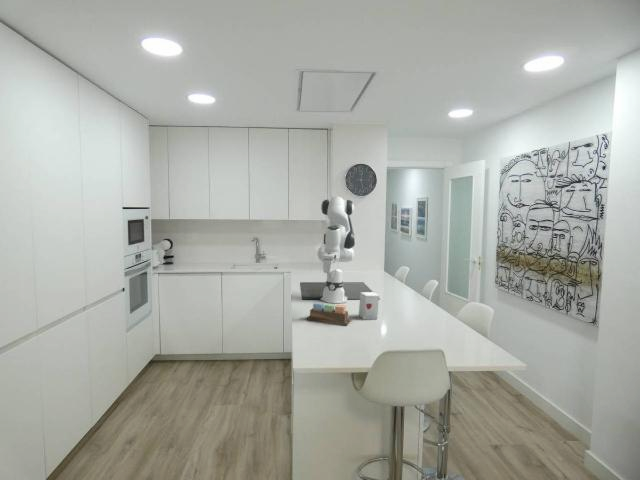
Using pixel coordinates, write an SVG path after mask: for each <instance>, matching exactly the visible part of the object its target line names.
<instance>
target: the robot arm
mask: <svg viewBox="0 0 640 480" xmlns="http://www.w3.org/2000/svg"><path fill="white" fill-rule="evenodd" d="M320 205H321V206H320V210H321V213H322V214H323V215H325V216H327V218H328V220H329V224H328V225H329V226H327V228H326V229H325V230H326V231H325V233H324V234H323V244H324V246H323V245H322V246H320V247H319V248H318V250H317V257H318V259H319V260H320V261H321V263H323V264H322V268H323V269H322V270H323V273H325V274H326V281H325V287H323V291H322V292H323V293H322V297H321V298H320V300H321V301H323V302H325V303H328V304H342V303H343V304H346V303H348V296H346V295H345V293H346V292H345V289H344V280H343V279H344V271H343V269H342V268H341V267H339V263H347V262H352V261H353V260H354V259H355V250H354V249H353V248H354V247H355V244H356V237H355V233H354V229H353V224H352V220H351V217H350V216H351V215H352V214H353V213H354V210H355V206H354V203H353V200H349V199H344V198H342V197H341V196H332V197H331V199H324V200H323V201H322V202H321V204H320Z"/></svg>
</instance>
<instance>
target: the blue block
mask: <svg viewBox="0 0 640 480" xmlns="http://www.w3.org/2000/svg"><path fill="white" fill-rule="evenodd" d="M312 305H313V306H312V308H313V310H316V311H322V310H324V305H325V303H324V302H319V301H315V302H313V304H312Z"/></svg>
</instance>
